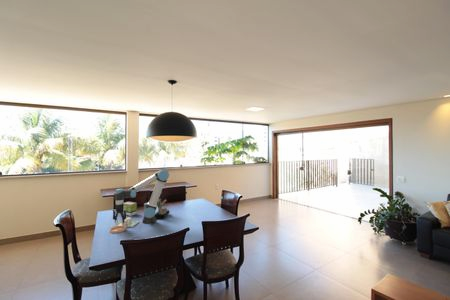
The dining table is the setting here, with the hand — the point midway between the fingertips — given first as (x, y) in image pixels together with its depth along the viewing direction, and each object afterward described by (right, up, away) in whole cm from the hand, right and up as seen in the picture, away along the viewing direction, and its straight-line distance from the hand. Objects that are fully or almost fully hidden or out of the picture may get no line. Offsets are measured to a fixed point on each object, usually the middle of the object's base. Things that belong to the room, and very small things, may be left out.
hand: (119, 225), depth 219 cm
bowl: (0, -3, -3) cm, 5 cm away
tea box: (-14, -4, +53) cm, 55 cm away
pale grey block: (+1, -3, +9) cm, 10 cm away
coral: (+27, -4, +45) cm, 52 cm away
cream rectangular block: (+1, -3, +16) cm, 17 cm away
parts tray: (+1, -3, +13) cm, 13 cm away
